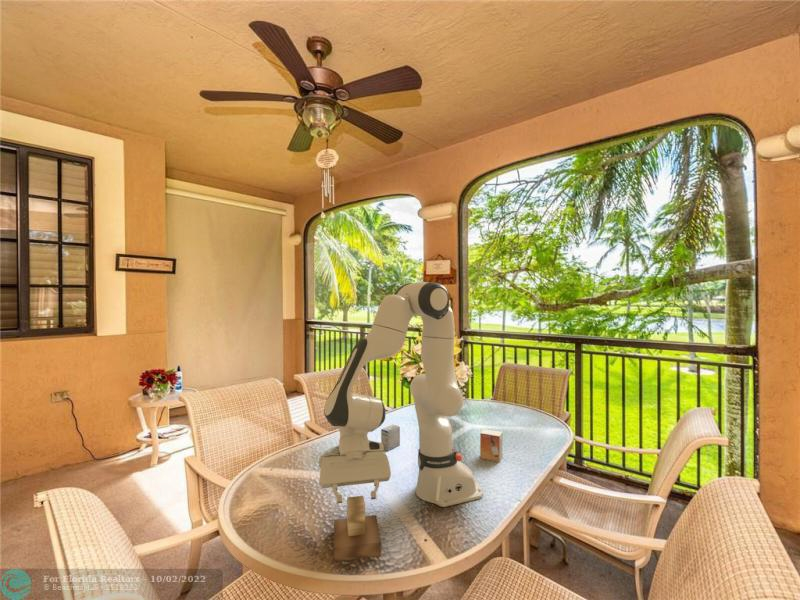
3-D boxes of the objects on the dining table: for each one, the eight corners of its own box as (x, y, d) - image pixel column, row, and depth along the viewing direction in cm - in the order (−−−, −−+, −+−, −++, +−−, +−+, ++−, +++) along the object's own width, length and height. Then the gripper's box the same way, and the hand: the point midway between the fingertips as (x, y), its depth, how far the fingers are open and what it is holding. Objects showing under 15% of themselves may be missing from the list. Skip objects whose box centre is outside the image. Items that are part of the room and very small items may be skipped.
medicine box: (392, 443, 168) (392, 424, 167) (400, 445, 165) (400, 426, 165) (381, 448, 161) (380, 429, 161) (388, 451, 159) (388, 431, 159)
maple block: (363, 524, 102) (363, 495, 102) (365, 534, 98) (365, 504, 98) (347, 526, 102) (347, 497, 102) (348, 536, 97) (348, 506, 97)
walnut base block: (376, 528, 107) (376, 514, 107) (381, 557, 95) (380, 542, 95) (334, 533, 105) (334, 519, 105) (334, 563, 93) (333, 548, 93)
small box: (480, 458, 150) (479, 433, 150) (483, 453, 155) (483, 428, 155) (499, 462, 146) (499, 436, 146) (502, 457, 151) (502, 431, 151)
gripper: (318, 449, 107) (317, 501, 97) (388, 443, 110) (393, 492, 101) (319, 458, 111) (318, 508, 102) (386, 451, 115) (391, 500, 105)
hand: (356, 500), depth 101 cm, fingers open, 8 cm apart
